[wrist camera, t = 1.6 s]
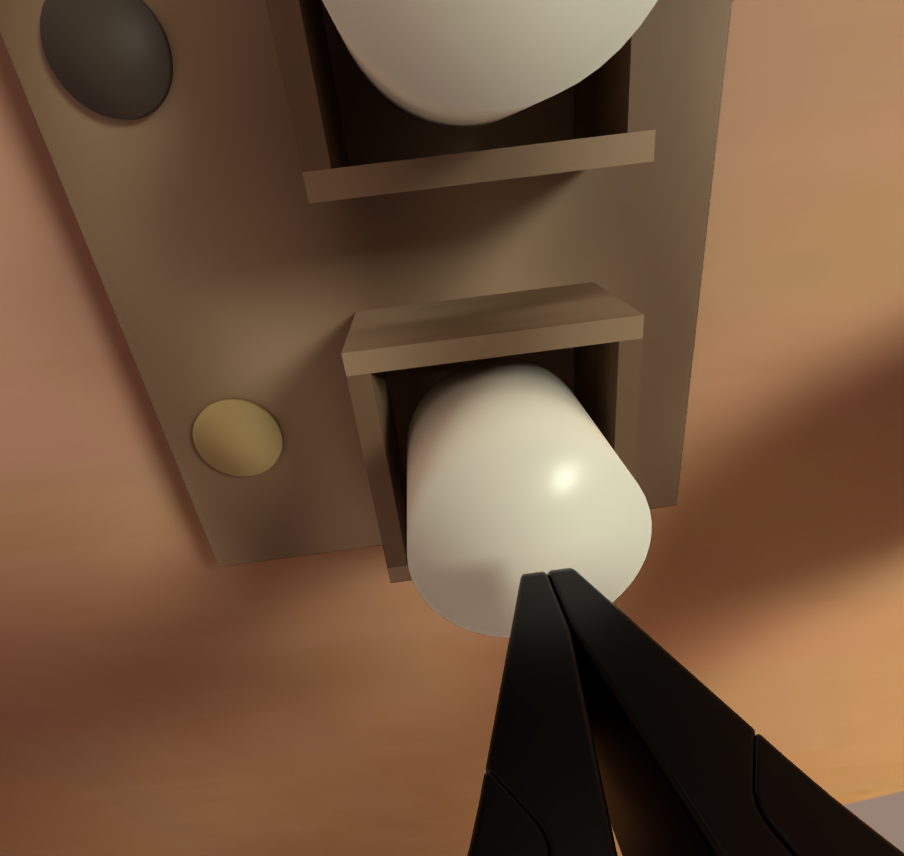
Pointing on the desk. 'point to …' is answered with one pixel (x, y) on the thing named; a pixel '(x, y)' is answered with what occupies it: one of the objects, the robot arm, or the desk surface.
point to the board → (370, 246)
